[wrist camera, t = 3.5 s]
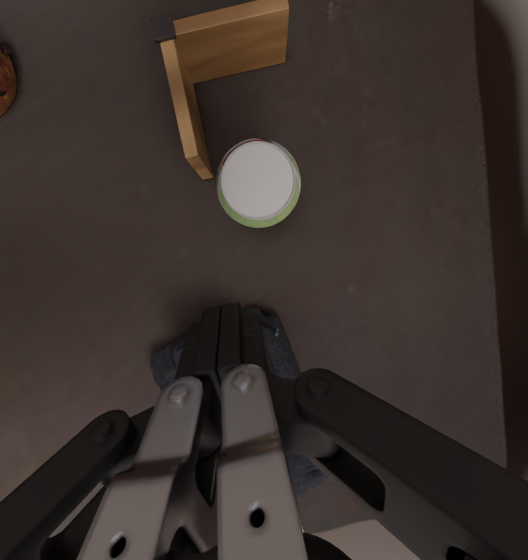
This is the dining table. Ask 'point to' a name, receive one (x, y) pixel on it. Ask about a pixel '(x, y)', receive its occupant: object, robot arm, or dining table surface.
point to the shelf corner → (216, 58)
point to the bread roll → (6, 80)
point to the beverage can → (258, 183)
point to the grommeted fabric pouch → (280, 365)
